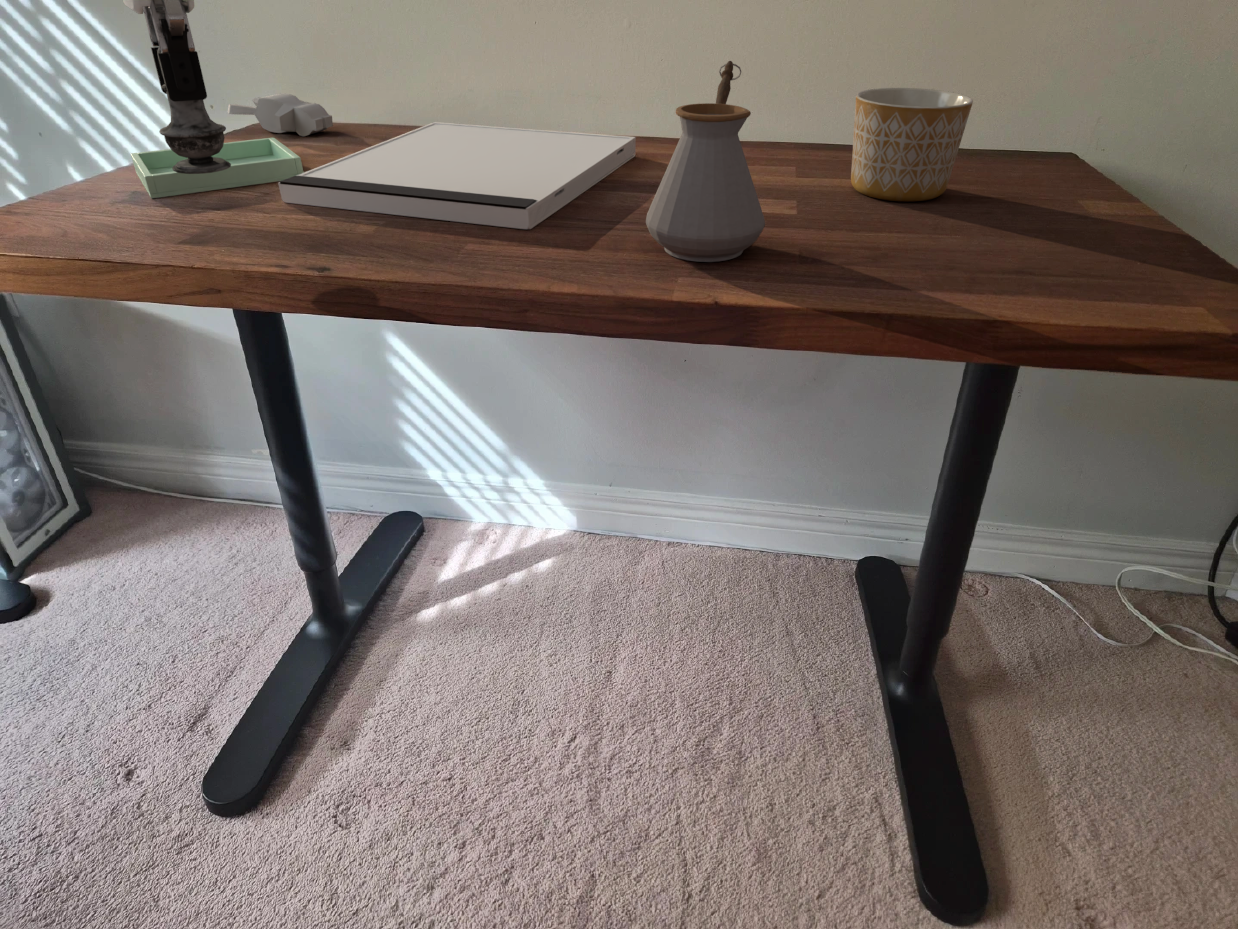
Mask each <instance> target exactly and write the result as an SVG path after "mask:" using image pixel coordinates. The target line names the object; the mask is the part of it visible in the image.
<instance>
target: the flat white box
mask: <svg viewBox="0 0 1238 929" xmlns="http://www.w3.org/2000/svg"><path fill="white" fill-rule="evenodd" d="M636 139H637V137H636V136H629V135H628V136H627V135H617V134H616V135H615V134H600V133H588V132H577V131H576V132H574V131H561V130H546V129H535V128H533V129H532V128H520V127H509V126H495V125H494V126H493V125H482V124H481V125H480V124H468V123H453V122H440V121H433V122H431V123H428V124H425V125H423V126H421V127H417V128H416V129H415V128H414V129H412V130H411V131H407V132H405V133H402V134H400V135H397V136H395V137H392V138H390V139H386V140H384V141H381V142H378V143H377V144H374V145H372V146H369V147H366V148H363V149H361V150H359V151H356V152H353V153H350V154H348V155H346V156H343V157H341V158H337V159H335V160H333V161H329V162H327V163H325V164H323V165H319V166H317V167H315V168H312V169H310V170H307V171H303V172H304V173H302V174H299V175H297V176H293V177H290V178H288V179H285V180H282V181H278V182H277V185H278V189H279V193H280V198H281V201H282V202H283V203H286V204H296V205H304V206H315V207H323V208H330V209H340V210H350V211H358V212H367V213H374V214H375V213H376V214H386V215H395V216H402V217H403V216H404V217H412V218H421V219H431V220H439V221H447V222H448V221H450V222H456V223H467V224H475V225H483V226H493V227H501V228H511V229H519V230H531V229H533V228H534V227H536V226H537V225H539V224H540V223H542V222H543V221H544V220H546V219H547V218H549V217H550V216H552V215H553V214H555V213H556V212H557V211H559V210H561V209H562V208H564V207H565V206H566V205H568V204H569V203H571V202H572V201H573V200H575V199H576V198H578V197H579V196H580V195H582V194H583V193H584V192H587V191H588V190H589V189H591V188H592V187H593V186H595V185H596V184H598V183H599V182H600V181H602V180H604V179H605V178H606V177H608V176H609V175H611V174H612V173H613V172H615V171H616V170H618V169H619V168H620V167H622V166H623V165H624V164H627V163H628V162H629V161H630V160H632V159H633V158H635V157H636V154H637V153H636V152H637V150H636V148H637V145H636V144H637V143H636Z"/></svg>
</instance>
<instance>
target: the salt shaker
mask: <svg viewBox="0 0 1238 929" xmlns="http://www.w3.org/2000/svg"><path fill="white" fill-rule="evenodd" d="M158 53H161V50H160V47H159V48H158V50H157V55H158ZM158 59H159V57H158ZM159 62H160V60H159ZM160 66H161V64H160ZM161 70H162V68H161ZM162 74H163V72H162ZM163 78H164V76H163ZM164 82H165V80H164ZM161 88H162V89H164V90H165V91H166V94H165V95H166V97H167V101H168V105H169V108H170V109H169V110H170V122H169V123H168V125H167V126H164V127H162V128H160V130H159V134H160V135H161V136H163V137H164V140H165V143H166V144H167V146H168V147H169V149H171V150H172V151H173V152H175V153H176V154H177V155H179V156H182V157H186V158H188V159H185V160H182V161H179V162H177V164H176V165H174V166H173V168H172V169H173V171H175V172H178V173H184V174H203V173H212V172H218V171H222V170H225V169H228V168H229V167H231V164H230V163H229V162H228V161H225V160H224V159H222V158H217V157H211V156H213V155H215V154H217V153H219V152H220V150H221V149H222V147H223V144H224V143H225V134H224V132H225V131H226V130H227V127H226V125H224V124H221V123H217V122H215V121H214V120H212V119H211V118H210V115H209V113H208V111H207V109H206V106H205V102H204V100H191V101H176V102H175V101H172V100H171V99H170V98H169V96H168V92H167V88H166V84H164V85H163V86H160V89H161ZM162 89H161V90H162Z"/></svg>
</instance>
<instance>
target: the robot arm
mask: <svg viewBox="0 0 1238 929" xmlns="http://www.w3.org/2000/svg"><path fill="white" fill-rule="evenodd" d="M122 2H123V4H124V6H126V7H127V8H129V9H130V10H132V11H133V12H134V13H136V14H138V15H144V19H145V23H146V26H147V30H148V36H149V40H150V43H151V46H152V47H150V50H151V53H152V58H153V61H154V66H155V69H156V74H157V78H158V81H159V85H160V89H161V92H162V93H164V94H165V95H167V94H166V91H165V90H164V89H162V88H161V86H163V85H164V84H166V88H167V92H168V96H169V98H170V99H171V100H172V101H175V102H176V101H191V100H203V101H204V100H206V99H207V98H208V94H207V93H208V92H207V88H206V84H205V80H204V76H203V72H202V66H201V63H200V62H201V61H200V59H199V54H198V51H197V50H196V46H195V42H194V38H193V35H192V30H191V26H190V22H189V18H188V14H189V13H191V12H192V11H193V10H194V9H195V0H122ZM159 47H160V50H161V53H158V55H157V50H158V48H159ZM158 57H159V59H158ZM159 60H160V62H159ZM160 64H161V66H160ZM161 68H162V70H161ZM162 72H163V74H162ZM163 76H164V78H163ZM164 80H165V82H164Z"/></svg>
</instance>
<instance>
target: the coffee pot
mask: <svg viewBox="0 0 1238 929" xmlns="http://www.w3.org/2000/svg"><path fill="white" fill-rule="evenodd" d="M734 67H736V68H738V70H739V73H738V74H739V75H738V76H736V77H734V72H733V71H734ZM722 68H724V70H723V71H722ZM718 72H719V75H720V77H721V80H720V82H719V84H718V85H717V92H716V98H715V103H710V102H709V103H708V102H706V103H705V102H703V103H690V104H684V105H679V106H678V107H676V108H675V114H676V116H678V117H679V121H680V126H681V132H682V133H681V134H680V138H679V140H678V142H677V144H676V147H675V149H674V151H673V153H672V156H671V158H670V160H669V163H668V165H667V167H666V169H665V172H664V174H663V176H662V178H661V181H660V183H659V185H658V188H657V190H656V193H655V195H654V197H653V199H652V201H651V204H650V206H649V208H648V211H647V213H646V218H645V225H646V227H647V230H648V232H649V234H650V235H651V237H652V238H653V239H654V241H656V243H658V245H660V246H661V247H662V248H663V250H664V251H665V253H666V254H668V255H669V256H672V257H674V258H676V259H680V260H685V261H689V262H697V263H699V262H701V263H714V262H716V263H717V262H722V261H723V262H724V261H728V260H733V259H735V258H737V257H739V256H741V255H742V253H743V252H744V250H746V249H748V248H749V247H752V245H753V244H754V243H755V242H756V241H757V240H758V238H759V237H760V236H761V234H762V232H763V230H764V228H765V226H766V221H765V216H764V212H763V209H762V207H761V203H760V200H759V197H758V194H757V190H756V186H755V184H754V182H753V178H752V175H751V172H750V169H749V165H748V162H747V159H746V155H745V152H744V149H743V146H742V142H741V141H740V137H739V132H740V131H741V129H742V127H743V126H744V124H745V123H746V121H747V120H748V118H749V117H750V116H751V115H752V114H751V113H752V112H751V111H750V110H749V109H747V108H745V107H742V106H739V105H734V104H727V101H728V98H729V95H730V92H731V89H732V88H731V81H735V80H738V79H739V78H740V77H741V75H742V69H741V66H739V65H738V64H736V63H733V61H732V60H728V61H727V62H726V63H725V64H723V65H721V66H720V68H719V71H718Z"/></svg>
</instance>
